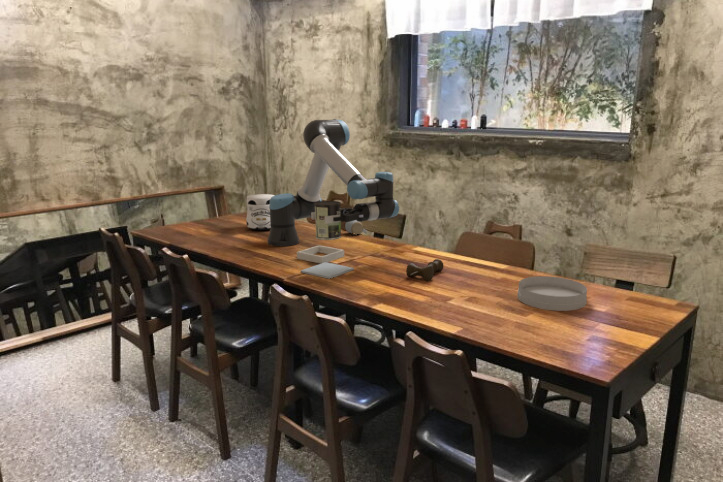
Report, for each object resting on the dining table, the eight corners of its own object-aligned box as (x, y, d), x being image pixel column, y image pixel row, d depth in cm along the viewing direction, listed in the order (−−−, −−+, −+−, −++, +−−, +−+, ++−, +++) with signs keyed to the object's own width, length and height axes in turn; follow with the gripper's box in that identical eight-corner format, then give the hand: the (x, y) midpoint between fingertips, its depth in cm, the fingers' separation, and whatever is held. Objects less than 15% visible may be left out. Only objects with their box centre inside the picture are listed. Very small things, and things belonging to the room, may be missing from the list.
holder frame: (297, 258, 237) (296, 251, 237) (319, 251, 249) (319, 245, 248) (322, 263, 229) (322, 257, 228) (344, 256, 240) (344, 249, 239)
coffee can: (341, 234, 224) (341, 200, 220) (340, 240, 213) (339, 204, 210) (316, 234, 224) (315, 200, 220) (314, 240, 214) (313, 204, 210)
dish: (532, 285, 199) (533, 272, 198) (595, 298, 186) (596, 284, 185) (506, 301, 183) (506, 287, 182) (572, 316, 169) (574, 301, 168)
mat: (300, 272, 217) (300, 270, 217) (325, 263, 229) (325, 262, 229) (329, 278, 208) (329, 276, 208) (353, 269, 220) (353, 267, 220)
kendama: (449, 274, 215) (421, 285, 200) (428, 270, 222) (399, 280, 206) (449, 259, 214) (421, 269, 199) (428, 256, 220) (399, 265, 205)
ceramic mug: (351, 236, 279) (351, 221, 277) (344, 233, 286) (344, 218, 285) (370, 234, 284) (370, 219, 282) (363, 231, 291) (363, 217, 289)
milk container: (257, 233, 287) (255, 199, 283) (240, 228, 299) (238, 196, 295) (285, 228, 298) (283, 196, 294) (267, 224, 311) (266, 192, 306)
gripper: (381, 225, 218) (333, 232, 206) (350, 216, 236) (305, 222, 224) (381, 206, 216) (332, 212, 204) (350, 199, 235) (304, 204, 223)
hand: (318, 217), depth 214 cm, fingers closed on coffee can, 10 cm apart
